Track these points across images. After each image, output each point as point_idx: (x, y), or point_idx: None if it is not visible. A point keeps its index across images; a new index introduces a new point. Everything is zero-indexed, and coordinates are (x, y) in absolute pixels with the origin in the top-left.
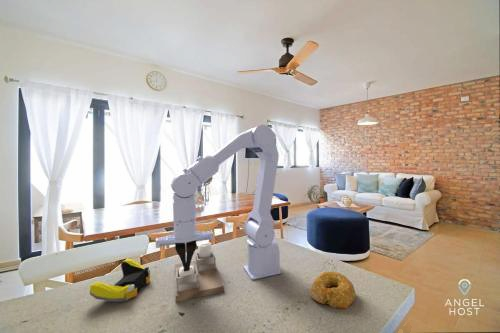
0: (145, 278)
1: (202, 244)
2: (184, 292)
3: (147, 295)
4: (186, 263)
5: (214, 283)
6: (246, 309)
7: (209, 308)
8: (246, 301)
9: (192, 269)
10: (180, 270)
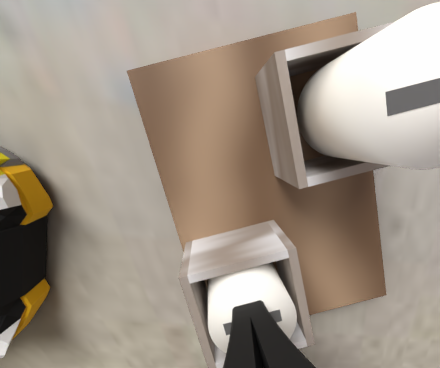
0: (23, 231)
1: (409, 90)
2: None
3: (91, 279)
4: (259, 347)
5: (352, 278)
6: (421, 360)
7: (319, 351)
8: (430, 331)
9: (287, 328)
10: (219, 333)
